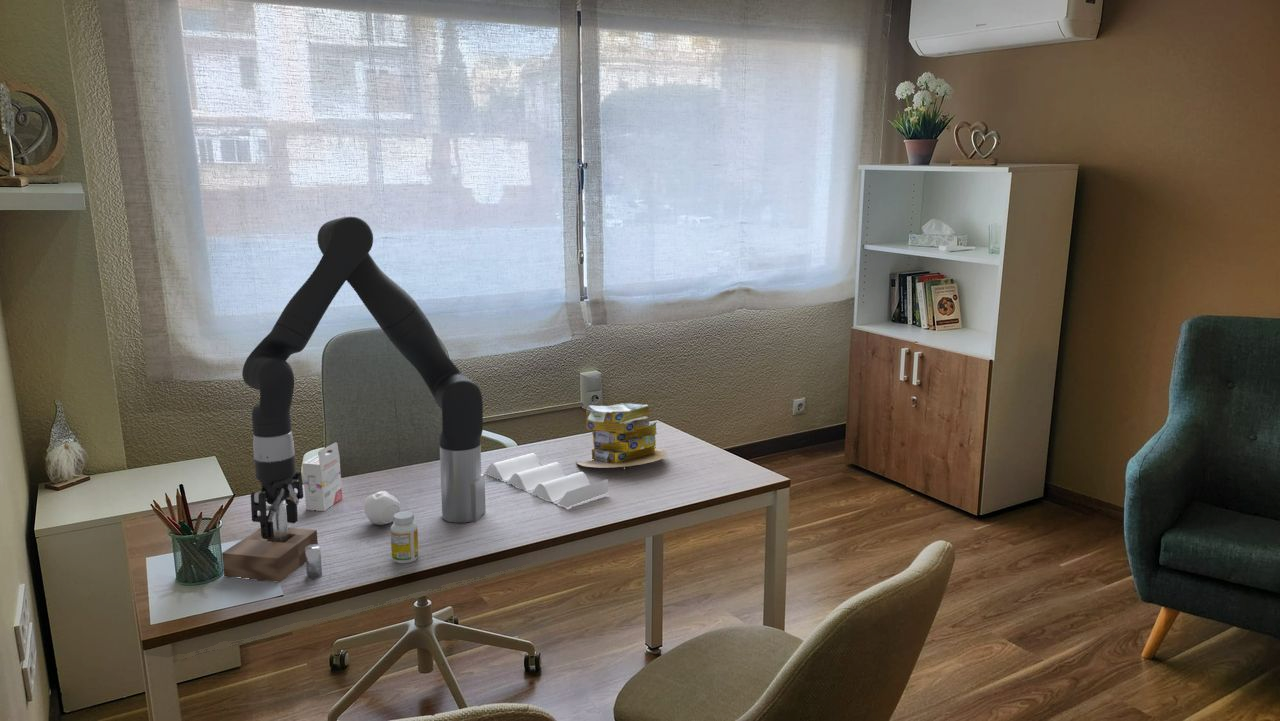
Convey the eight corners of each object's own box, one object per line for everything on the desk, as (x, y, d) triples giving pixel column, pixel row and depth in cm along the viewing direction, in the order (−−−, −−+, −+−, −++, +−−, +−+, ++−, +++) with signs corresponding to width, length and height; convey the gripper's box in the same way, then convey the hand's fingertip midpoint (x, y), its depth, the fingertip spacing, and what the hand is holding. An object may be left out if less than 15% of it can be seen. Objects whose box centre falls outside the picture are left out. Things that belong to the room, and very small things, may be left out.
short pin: (324, 573, 173) (322, 545, 172) (317, 579, 171) (315, 550, 169) (311, 571, 174) (309, 543, 172) (304, 578, 171) (302, 549, 170)
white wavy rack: (523, 464, 241) (523, 446, 240) (607, 498, 216) (608, 479, 215) (483, 475, 232) (482, 457, 231) (566, 512, 207) (566, 491, 206)
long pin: (293, 557, 180) (288, 498, 177) (285, 563, 177) (280, 503, 175) (280, 556, 180) (275, 497, 178) (272, 562, 178) (267, 502, 175)
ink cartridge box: (324, 497, 214) (320, 439, 210) (343, 499, 213) (339, 441, 210) (304, 510, 205) (300, 450, 202) (323, 512, 204) (319, 452, 201)
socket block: (318, 552, 183) (316, 530, 182) (279, 582, 169) (277, 558, 168) (266, 547, 185) (264, 525, 184) (224, 576, 171) (221, 553, 170)
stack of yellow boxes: (561, 458, 245) (560, 401, 241) (636, 445, 258) (637, 390, 254) (604, 485, 224) (604, 422, 221) (683, 468, 237) (685, 409, 234)
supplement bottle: (401, 566, 177) (399, 522, 175) (386, 558, 180) (384, 515, 178) (424, 557, 181) (422, 514, 179) (408, 550, 184) (406, 507, 182)
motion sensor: (406, 518, 201) (404, 486, 199) (391, 531, 194) (390, 498, 192) (373, 516, 202) (372, 484, 201) (358, 528, 195) (356, 496, 193)
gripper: (270, 467, 166) (277, 546, 170) (310, 444, 180) (316, 518, 184) (235, 464, 168) (242, 543, 171) (277, 442, 181) (283, 515, 185)
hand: (280, 530), depth 177 cm, fingers open, 8 cm apart
